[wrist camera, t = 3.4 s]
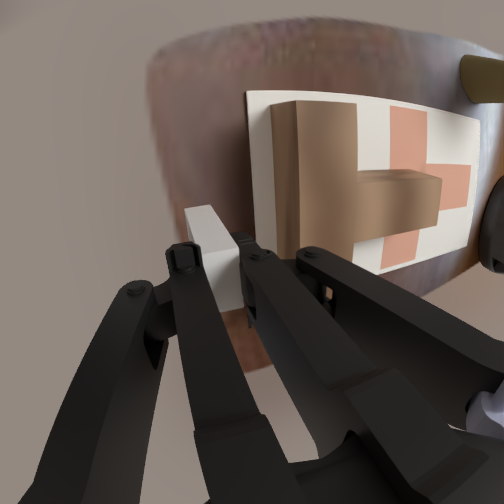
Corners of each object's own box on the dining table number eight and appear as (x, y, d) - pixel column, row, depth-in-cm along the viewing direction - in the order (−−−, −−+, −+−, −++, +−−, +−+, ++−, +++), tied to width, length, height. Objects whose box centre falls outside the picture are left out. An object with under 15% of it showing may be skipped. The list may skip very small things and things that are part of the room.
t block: (410, 114, 20) (444, 117, 17) (399, 259, 26) (426, 278, 23) (270, 104, 17) (295, 100, 14) (278, 290, 23) (298, 319, 20)
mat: (478, 120, 23) (480, 120, 23) (465, 245, 30) (466, 246, 30) (245, 91, 17) (246, 90, 17) (260, 303, 24) (260, 305, 23)
